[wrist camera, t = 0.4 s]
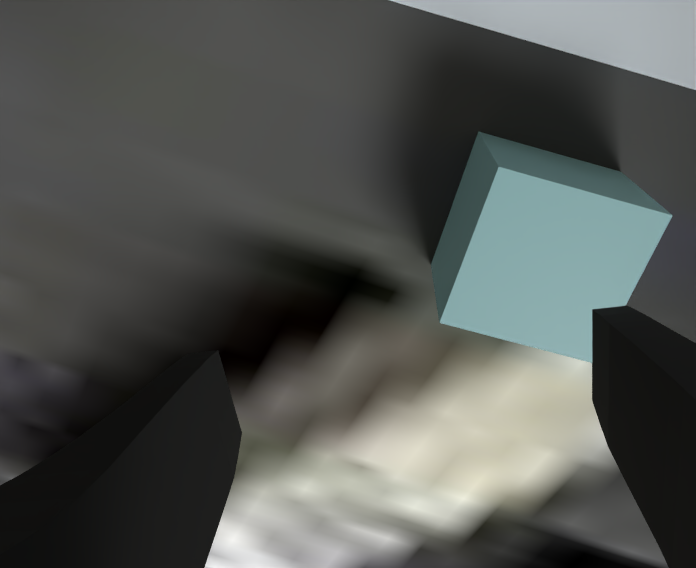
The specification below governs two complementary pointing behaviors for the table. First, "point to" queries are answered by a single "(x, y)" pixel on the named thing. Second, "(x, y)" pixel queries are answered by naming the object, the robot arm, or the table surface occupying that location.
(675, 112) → the table surface
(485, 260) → the teal block
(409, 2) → the board
